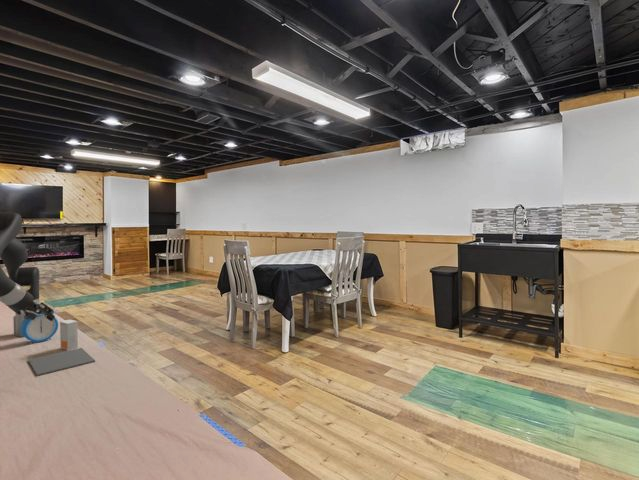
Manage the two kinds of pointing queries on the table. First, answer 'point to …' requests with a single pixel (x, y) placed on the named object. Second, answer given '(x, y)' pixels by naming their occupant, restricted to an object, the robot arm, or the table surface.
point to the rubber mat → (60, 361)
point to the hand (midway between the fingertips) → (43, 318)
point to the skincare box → (68, 334)
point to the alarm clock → (38, 328)
